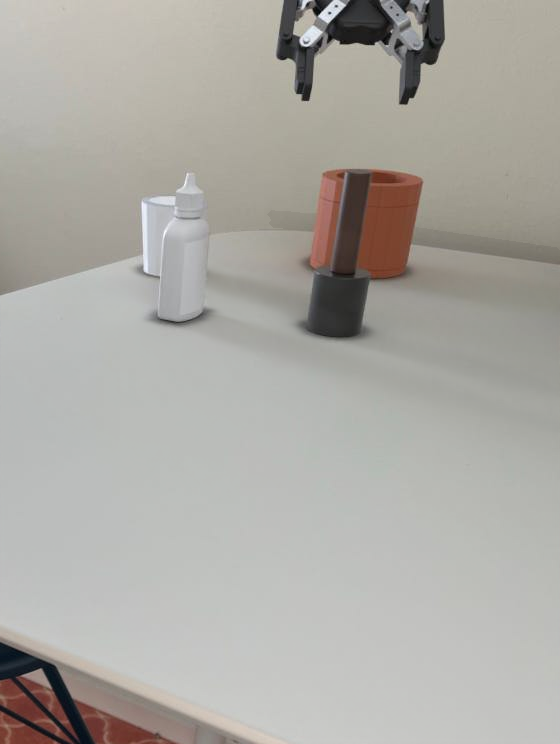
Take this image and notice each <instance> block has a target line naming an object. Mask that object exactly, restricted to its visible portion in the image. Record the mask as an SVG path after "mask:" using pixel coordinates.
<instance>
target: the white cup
mask: <svg viewBox="0 0 560 744" xmlns="http://www.w3.org/2000/svg"><path fill="white" fill-rule="evenodd" d="M175 197H176V194H156V195H150V196H145V197H143V198H141V225H142V226H141V227H142V229H141V230H142V253H143V254H142V255H143V257H142V258H143V259H142V260H143V272H144V273H146V274H147V275H150V276H153V277H159V278H160V270H161V255H162V242H163V234H164V231H165V229H166V227H167V225H168V224H169V223H170V222H171V221H172V220H173V219H174V217H175V216H176V215H175V214H174V212H175ZM207 209H208V200H206V199H204V198H203V209H202V216H200V217H201V219H203V220H205V221H206V216H207Z"/></svg>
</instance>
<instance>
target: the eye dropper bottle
mask: <svg viewBox="0 0 560 744" xmlns="http://www.w3.org/2000/svg"><path fill="white" fill-rule="evenodd" d="M204 194H205V192H204V191H203V190H202V189H201V188H199V187H198V185H197V177H196V173H194V172H187V174H186V177H185V181H184V184H183V186H182V187H180V188H178V189H176V190H175V195H176V197H175V212H174V214H175V215H176V216H175V217H174V219H173V220H172V221H171V222H170V223H169V224H168V225H167V227H166V229H165V231H164V234H163V242H162V255H161V270H160V277H159V289H158V303H157V304H158V305H157V317H158V318H159V319H160V320H165V321H169V322H176V323H182V322H186V321H190V320H193V319H195V318H197V317H199V316H200V315H201V314H202V312H203V311H204V307H205V297H206V285H207V273H208V263H209V251H210V249H209V248H210V238H211V237H210V236H211V228H210V225H209V223H208V222H207V221H206V219H205V220H203V219H201V217H200V216H202V209H203V199H204Z"/></svg>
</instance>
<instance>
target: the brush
mask: <svg viewBox="0 0 560 744" xmlns="http://www.w3.org/2000/svg"><path fill="white" fill-rule="evenodd" d="M348 169H349V170H346V171H345V175H344V181H343V188H342V194H341V201H340V207H339V214H338V220H337V227H336V233H335V240H334V246H333V253H332V259H331V265H324V266H319V267H317V268H314V270H313V279H312V285H311V293H310V299H309V304H308V305H309V306H308V313H307V319H306V329H307V330H309V331H310V332H312V333H313V334H317V335H321V336H326V337H335V338H347V337H353V336H356V335H358V334H360V333H361V331H362V327H363V320H364V315H365V310H366V309H365V308H366V302H367V297H368V293H369V292H368V291H369V286H370V280H371V279H370V275H371V274H370V272H369V271H367V270H365V269H362V268H359V267H356V266H357V261H358V255H359V249H360V243H361V237H362V231H363V225H364V219H365V213H366V207H367V201H368V195H369V189H370V183H371V177H372V172H371V171H368V170H361V169H362V168H348Z"/></svg>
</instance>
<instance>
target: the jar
mask: <svg viewBox="0 0 560 744" xmlns="http://www.w3.org/2000/svg"><path fill="white" fill-rule="evenodd" d="M349 169H350V168H341V169H340V168H339V169H332V170H327V171H323V172H322V173H321V174H322V175H321V180H320V186H319V187H320V188H319V194H318V202H317V209H316V216H315V223H314V230H313V236H312V242H311V243H312V244H311V250H310V260H309V265H310V266H311V267H312V268H313V269H315V268H317V267H319V266H324V265H331V259H332V253H333V246H334V240H335V233H336V227H337V220H338V214H339V207H340V201H341V194H342V188H343V181H344V175H345V171H346V170H349ZM360 169H361V170H368V171H371V172H372V177H371V183H370V189H369V195H368V201H367V207H366V213H365V219H364V225H363V231H362V237H361V243H360V249H359V255H358V261H357V266H356V267H359V268H362V269H365V270H367V271H369V272H370V274H371V275H370V280H371V279H374V280H375V279H376V280H377V279H389V278H394V277H398V276H401V275H403V274H404V273H405V272H406V269H407V264H408V261H409V257H410V256H409V255H410V250H411V246H412V240H413V237H414V236H413V235H414V231H415V227H416V226H415V225H416V220H417V215H418V211H419V210H418V209H419V204H420V200H421V195H422V191H423V184H424V180H423V179H422V177H419V176H418V175H414V174H410V173H407V172H401V171H395V170H386V169H375V168H373V169H372V168H360Z"/></svg>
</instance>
